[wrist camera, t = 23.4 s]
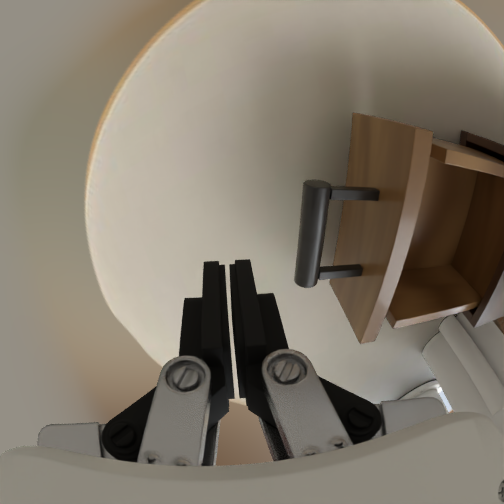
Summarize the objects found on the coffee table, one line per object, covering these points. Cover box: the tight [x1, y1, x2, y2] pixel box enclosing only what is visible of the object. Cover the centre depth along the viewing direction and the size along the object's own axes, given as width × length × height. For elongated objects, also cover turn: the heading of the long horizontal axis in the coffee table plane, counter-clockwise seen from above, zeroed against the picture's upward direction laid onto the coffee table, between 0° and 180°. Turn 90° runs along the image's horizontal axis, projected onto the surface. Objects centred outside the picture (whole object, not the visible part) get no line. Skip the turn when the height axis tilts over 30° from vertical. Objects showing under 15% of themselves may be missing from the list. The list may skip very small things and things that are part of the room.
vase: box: [422, 312, 504, 437], centre depth 23 cm, size 11×7×20 cm, turn 162°
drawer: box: [294, 113, 504, 344], centre depth 17 cm, size 18×13×7 cm
